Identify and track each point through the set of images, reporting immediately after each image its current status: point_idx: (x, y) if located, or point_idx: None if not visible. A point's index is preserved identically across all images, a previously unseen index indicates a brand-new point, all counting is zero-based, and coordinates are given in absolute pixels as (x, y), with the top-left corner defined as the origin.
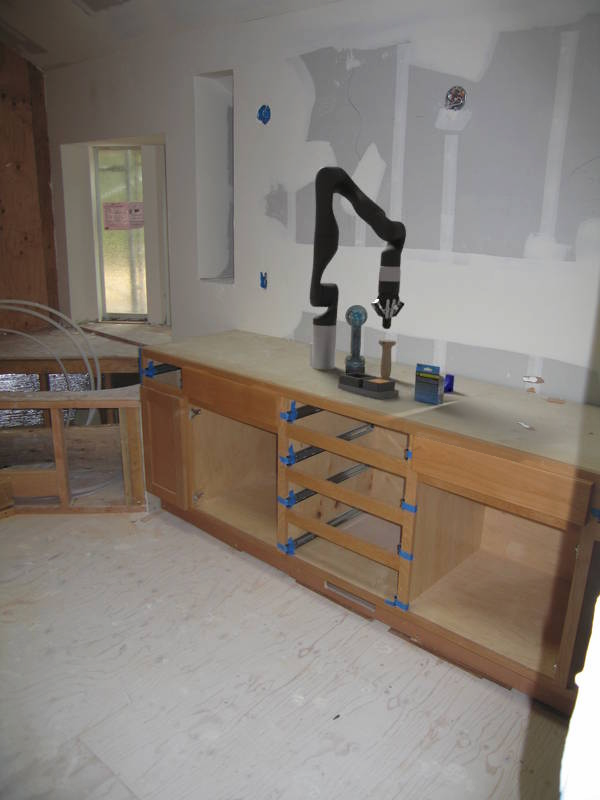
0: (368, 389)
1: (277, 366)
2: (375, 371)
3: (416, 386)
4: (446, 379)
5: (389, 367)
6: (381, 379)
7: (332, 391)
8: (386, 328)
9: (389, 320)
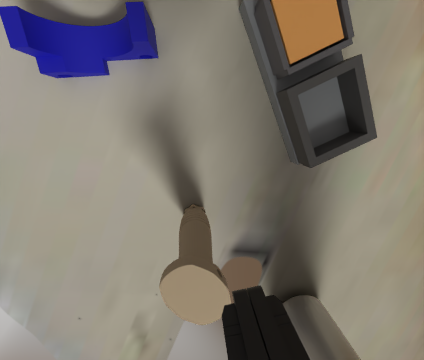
0: None
1: None
2: None
3: None
4: (41, 39)
5: (189, 219)
6: (288, 46)
7: (375, 105)
8: (257, 286)
9: (255, 351)
